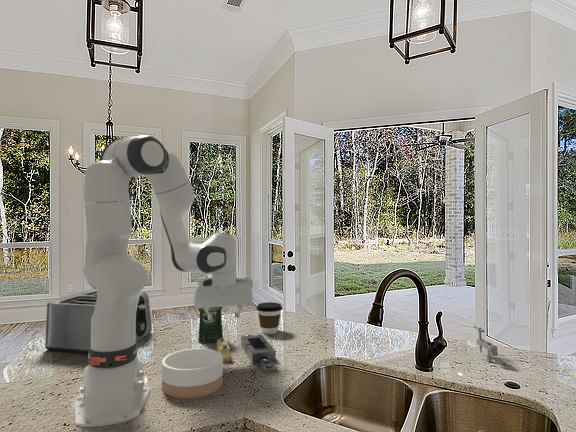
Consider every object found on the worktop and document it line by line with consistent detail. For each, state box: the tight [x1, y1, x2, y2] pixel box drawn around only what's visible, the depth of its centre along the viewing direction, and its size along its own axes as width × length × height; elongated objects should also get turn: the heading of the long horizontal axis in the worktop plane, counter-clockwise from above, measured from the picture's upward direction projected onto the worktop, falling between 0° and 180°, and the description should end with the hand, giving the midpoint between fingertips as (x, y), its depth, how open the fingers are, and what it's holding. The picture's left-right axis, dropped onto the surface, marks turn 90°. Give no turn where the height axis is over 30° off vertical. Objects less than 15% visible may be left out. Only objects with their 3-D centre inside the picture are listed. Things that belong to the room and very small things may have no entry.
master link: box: [216, 337, 231, 362], centre depth 135 cm, size 11×3×6 cm, turn 18°
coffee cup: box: [256, 301, 283, 335], centre depth 163 cm, size 11×11×12 cm
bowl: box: [161, 347, 224, 399], centre depth 112 cm, size 17×17×8 cm
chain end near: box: [246, 342, 278, 374], centre depth 129 cm, size 17×8×4 cm, turn 19°
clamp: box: [473, 325, 499, 363], centre depth 136 cm, size 15×2×10 cm, turn 177°
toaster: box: [44, 288, 153, 355], centre depth 149 cm, size 29×32×19 cm
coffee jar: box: [197, 306, 224, 344], centre depth 152 cm, size 10×8×19 cm
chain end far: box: [240, 333, 269, 354], centre depth 147 cm, size 17×8×4 cm, turn 19°
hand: (223, 318), depth 135 cm, fingers open, 8 cm apart
